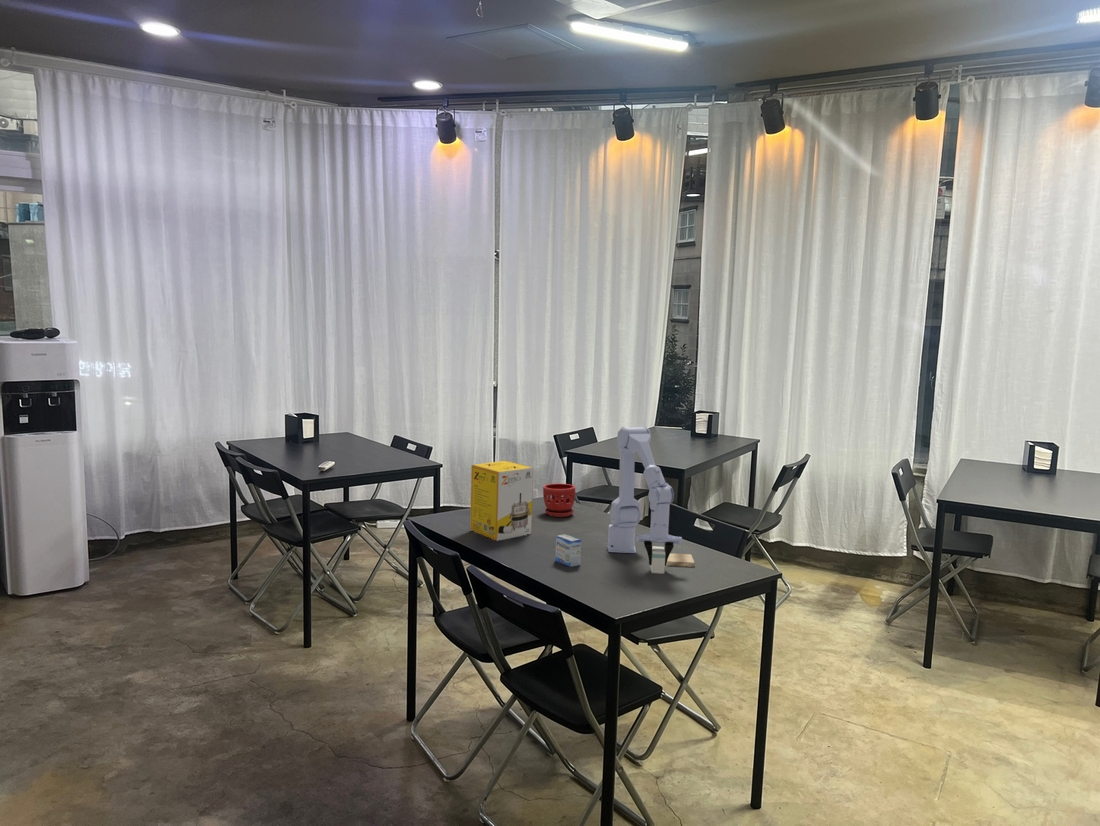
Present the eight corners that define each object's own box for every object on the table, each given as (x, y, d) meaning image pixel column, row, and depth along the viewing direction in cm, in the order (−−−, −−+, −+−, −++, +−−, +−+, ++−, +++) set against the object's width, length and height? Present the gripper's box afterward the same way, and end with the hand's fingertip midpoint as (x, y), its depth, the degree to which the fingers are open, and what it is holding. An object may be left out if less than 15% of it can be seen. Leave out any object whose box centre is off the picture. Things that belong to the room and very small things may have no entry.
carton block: (651, 572, 253) (652, 551, 252) (650, 567, 259) (651, 546, 258) (664, 573, 253) (665, 552, 252) (662, 567, 259) (663, 546, 258)
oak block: (666, 567, 261) (667, 561, 261) (664, 558, 270) (664, 553, 270) (694, 568, 261) (694, 562, 261) (690, 560, 270) (691, 554, 269)
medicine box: (554, 561, 262) (555, 535, 261) (564, 559, 265) (565, 533, 264) (570, 567, 256) (571, 541, 255) (580, 565, 259) (581, 539, 258)
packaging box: (504, 524, 306) (505, 460, 303) (531, 534, 294) (533, 467, 291) (469, 531, 295) (471, 464, 292) (496, 541, 283) (498, 472, 280)
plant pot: (575, 511, 330) (577, 483, 328) (572, 519, 317) (573, 490, 315) (544, 509, 331) (545, 481, 330) (540, 517, 319) (541, 488, 317)
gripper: (637, 525, 250) (635, 567, 252) (683, 527, 250) (681, 569, 251) (636, 519, 257) (634, 560, 259) (681, 521, 257) (679, 562, 258)
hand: (657, 564), depth 256 cm, fingers closed on carton block, 4 cm apart
